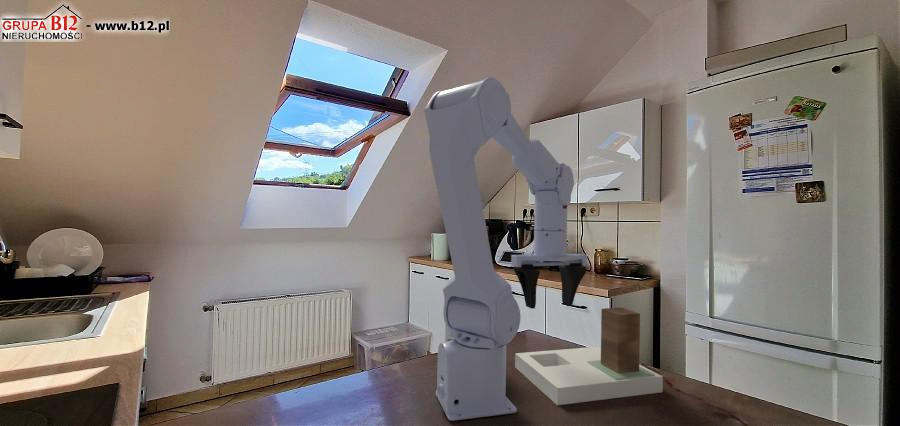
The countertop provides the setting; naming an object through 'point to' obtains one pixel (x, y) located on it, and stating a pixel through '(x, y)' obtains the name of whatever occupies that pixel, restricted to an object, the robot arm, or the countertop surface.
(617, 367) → the walnut block
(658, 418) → the countertop surface
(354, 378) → the countertop surface
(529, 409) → the countertop surface
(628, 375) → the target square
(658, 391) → the board
